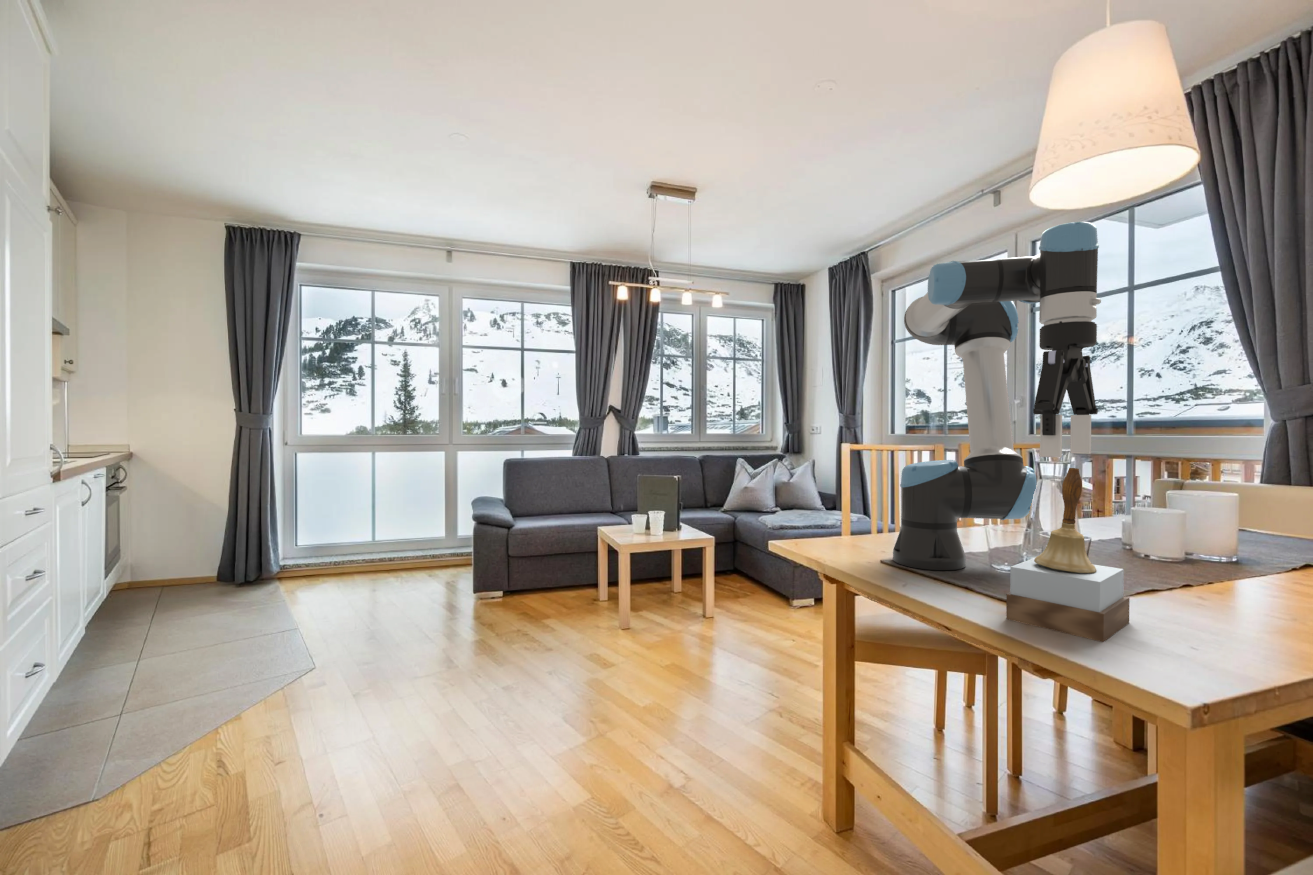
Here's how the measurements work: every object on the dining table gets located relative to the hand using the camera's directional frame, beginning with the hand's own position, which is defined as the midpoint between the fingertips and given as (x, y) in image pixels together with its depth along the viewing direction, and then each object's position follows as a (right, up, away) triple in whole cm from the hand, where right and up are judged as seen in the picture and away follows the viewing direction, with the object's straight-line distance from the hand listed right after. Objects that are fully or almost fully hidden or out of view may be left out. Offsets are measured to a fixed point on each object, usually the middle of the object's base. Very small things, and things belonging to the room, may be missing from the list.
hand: (1066, 455), depth 94 cm
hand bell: (0, -18, 0) cm, 18 cm away
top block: (0, -23, 0) cm, 23 cm away
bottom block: (0, -27, 0) cm, 27 cm away
